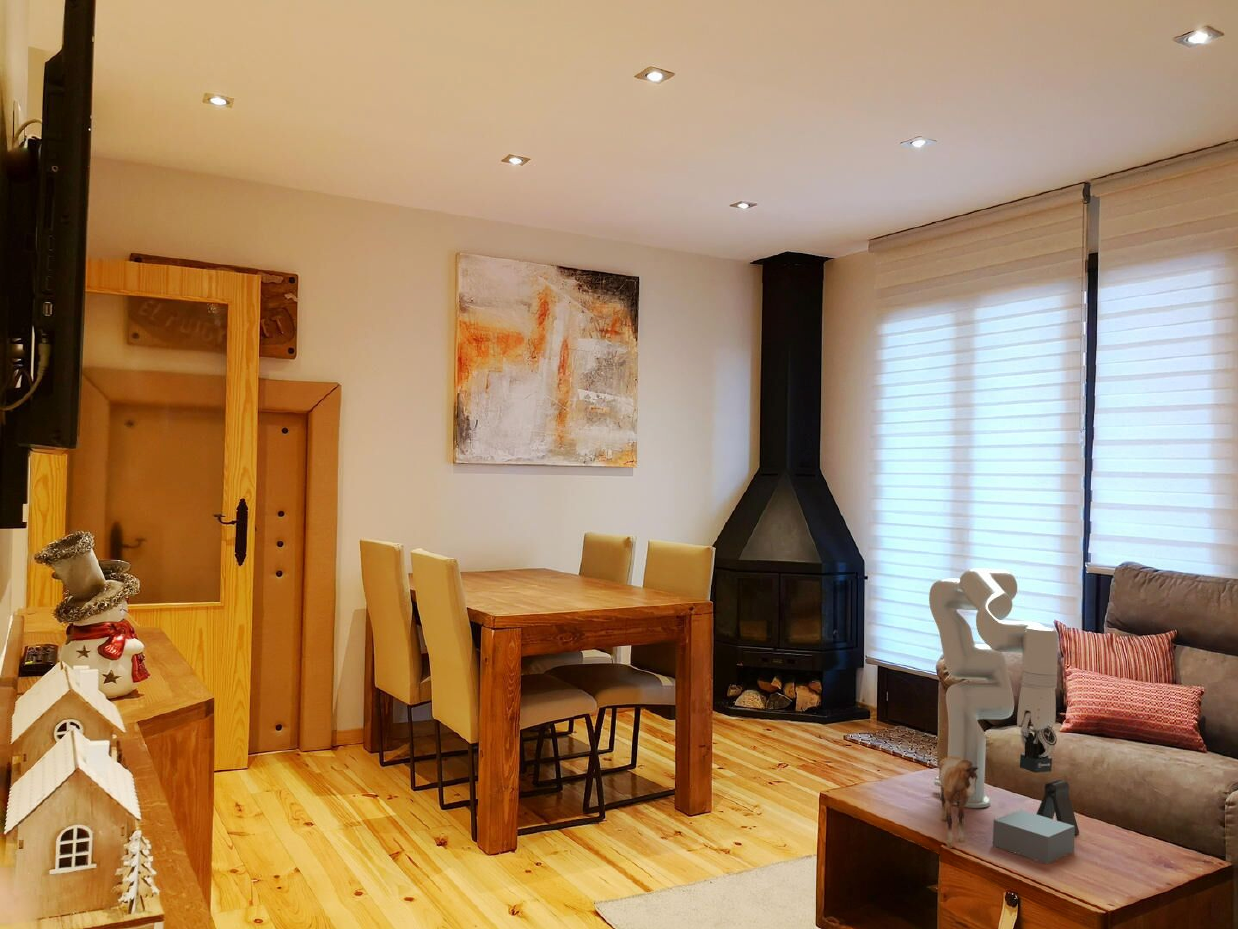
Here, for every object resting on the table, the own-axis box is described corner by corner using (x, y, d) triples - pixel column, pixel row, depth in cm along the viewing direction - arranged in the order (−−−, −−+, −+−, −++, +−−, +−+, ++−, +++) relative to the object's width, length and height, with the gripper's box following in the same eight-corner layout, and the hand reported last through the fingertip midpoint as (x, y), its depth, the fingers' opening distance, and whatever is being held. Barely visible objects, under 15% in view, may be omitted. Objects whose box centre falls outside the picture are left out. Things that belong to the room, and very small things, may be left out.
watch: (1042, 775, 216) (1046, 727, 217) (1013, 765, 223) (1016, 718, 224) (1058, 774, 219) (1062, 726, 219) (1029, 763, 226) (1032, 717, 226)
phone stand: (1079, 834, 232) (1081, 785, 233) (1066, 838, 229) (1068, 788, 229) (1044, 822, 240) (1046, 775, 240) (1031, 826, 236) (1033, 778, 236)
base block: (992, 845, 221) (993, 819, 222) (1019, 834, 230) (1020, 809, 230) (1047, 864, 211) (1048, 837, 212) (1073, 852, 220) (1074, 826, 220)
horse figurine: (975, 858, 213) (978, 766, 214) (939, 852, 215) (942, 762, 216) (968, 815, 243) (971, 734, 243) (936, 810, 245) (939, 731, 246)
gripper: (1040, 674, 230) (1037, 749, 229) (1006, 680, 219) (1003, 759, 219) (1071, 679, 224) (1068, 757, 224) (1037, 686, 213) (1034, 768, 213)
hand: (1036, 757), depth 221 cm, fingers closed on watch, 3 cm apart
